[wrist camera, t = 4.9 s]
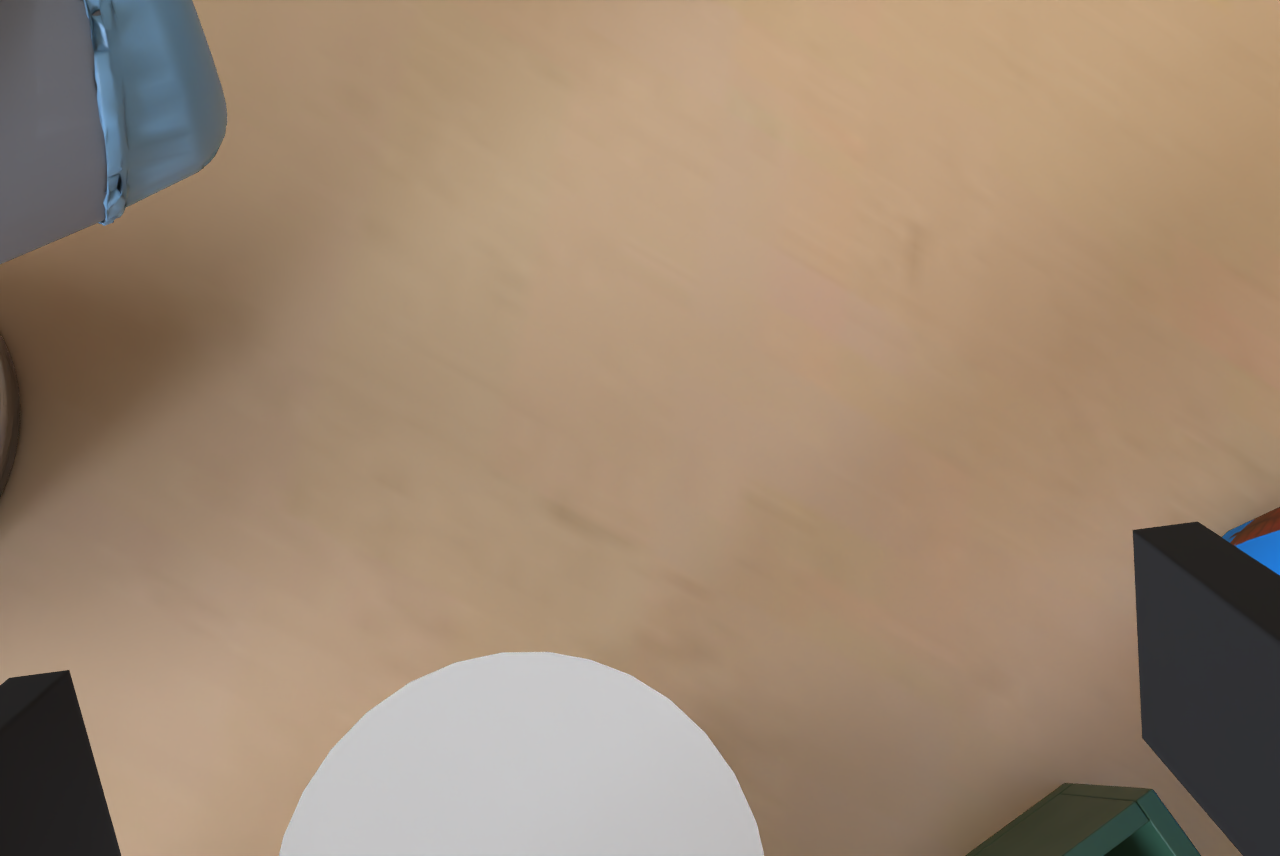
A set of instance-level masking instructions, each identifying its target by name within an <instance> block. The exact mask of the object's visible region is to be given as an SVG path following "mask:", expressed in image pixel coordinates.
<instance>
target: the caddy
mask: <svg viewBox="0 0 1280 856" xmlns="http://www.w3.org/2000/svg"><path fill="white" fill-rule="evenodd" d="M966 856H1201V855H1200V854H1199V852H1198V851H1197V849H1196V848H1195V847H1194V845H1193V844H1192V842H1191V841H1190V840H1189V838H1188V837H1187V836H1186V834H1185V833H1184V831H1183V830H1182V829H1181V827H1180V826H1179V824H1178V823H1177V822H1176V820H1175V819H1174V818H1173V816H1172V815H1171V813H1170V812H1169V811H1168V809H1167V808H1166V807H1165V805H1164V804H1163V802H1162V801H1161V800H1160V798H1159V797H1158V795H1157V794H1156V793H1155V791H1154V790H1153V789H1146V788H1132V787H1117V786H1103V785H1088V784H1073V783H1064V784H1063V785H1061V786H1060V787H1059V788H1057V789H1056V790H1055V791H1053V792H1052V793H1051V794H1049V795H1048V796H1046V797H1045V798H1044V799H1042V800H1041V801H1040V802H1038V803H1037V804H1035V805H1034V806H1033V807H1031V808H1030V809H1029V810H1027V811H1026V812H1025V813H1023V814H1022V815H1020V816H1019V817H1018V818H1016V819H1015V820H1014V821H1012V822H1011V823H1009V824H1008V825H1007V826H1005V827H1004V828H1003V829H1001V830H1000V831H999V832H997V833H996V834H994V835H993V836H992V837H990V838H989V839H988V840H986V841H985V842H984V843H982V844H981V845H979V846H978V847H977V848H975V849H974V850H973V851H971V852H970V853H968V854H967V855H966Z"/></svg>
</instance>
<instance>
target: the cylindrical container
mask: <svg viewBox="0 0 1280 856" xmlns="http://www.w3.org/2000/svg"><path fill="white" fill-rule="evenodd" d="M279 856H764V852H763V848H762V844H761V839H760V835H759V831H758V826H757V823H756V820H755V818H754V816H753V814H752V811H751V809H750V807H749V805H748V802H747V800H746V798H745V796H744V793H743V791H742V789H741V787H740V784H739V782H738V780H737V778H736V775H735V774H734V772H733V771H732V770H731V768H730V767H729V765H728V764H727V763H726V761H725V760H724V758H723V757H722V755H721V754H720V753H719V751H718V750H717V748H716V747H715V746H714V744H713V743H712V741H711V740H710V739H709V737H708V736H707V734H706V733H705V732H704V731H703V730H702V729H701V728H700V727H699V726H698V725H697V724H695V723H694V722H693V721H692V720H691V719H690V718H689V717H688V716H687V715H686V714H685V713H684V712H683V711H682V710H681V709H680V708H678V707H677V706H676V705H675V704H674V703H673V702H672V701H671V700H670V699H668V698H667V697H665V696H664V695H662V694H660V693H659V692H657V691H655V690H654V689H652V688H651V687H649V686H647V685H646V684H644V683H643V682H641V681H639V680H638V679H636V678H635V677H633V676H631V675H629V674H627V673H624V672H621V671H619V670H616V669H614V668H611V667H608V666H606V665H603V664H601V663H598V662H595V661H593V660H590V659H584V658H579V657H573V656H568V655H562V654H557V653H551V652H502V653H497V654H493V655H488V656H483V657H479V658H474V659H469V660H465V661H460V662H455V663H453V664H451V665H448V666H446V667H444V668H442V669H439V670H437V671H435V672H432V673H430V674H428V675H426V676H423V677H421V678H419V679H416V680H414V681H412V682H410V683H408V684H406V685H405V686H404V687H402V688H401V689H399V690H398V691H397V692H395V693H394V694H392V695H391V696H389V697H388V698H387V699H385V700H384V701H382V702H381V703H379V704H378V705H377V706H375V707H374V708H372V709H371V710H369V711H368V712H367V713H366V714H365V715H364V716H363V717H362V718H361V719H360V720H359V721H358V722H357V723H356V724H355V725H354V726H353V727H352V728H351V729H350V730H349V731H348V732H347V733H346V734H345V735H344V737H343V738H342V739H341V740H340V741H339V742H338V743H337V744H336V745H335V746H334V747H333V748H332V749H331V750H330V752H329V753H328V755H327V756H326V758H325V759H324V761H323V762H322V764H321V765H320V767H319V768H318V770H317V771H316V773H315V775H314V776H313V778H312V779H311V781H310V782H309V784H308V785H307V787H306V788H305V790H304V791H303V793H302V795H301V798H300V800H299V802H298V805H297V807H296V809H295V812H294V814H293V816H292V818H291V821H290V823H289V825H288V828H287V830H286V832H285V834H284V837H283V841H282V845H281V849H280V853H279Z"/></svg>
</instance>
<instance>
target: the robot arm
mask: <svg viewBox="0 0 1280 856" xmlns="http://www.w3.org/2000/svg"><path fill="white" fill-rule="evenodd" d="M226 125H227V108H226V102H225V97H224V93H223V90H222V86H221V83H220V80H219V77H218V73H217V70H216V67H215V64H214V61H213V58H212V55H211V52H210V49H209V46H208V43H207V40H206V37H205V34H204V32H203V29H202V26H201V23H200V20H199V18H198V15H197V12H196V9H195V7H194V4H193V1H192V0H0V264H2V263H4V262H7V261H9V260H12V259H14V258H16V257H19V256H21V255H23V254H26V253H28V252H30V251H33V250H35V249H37V248H40V247H42V246H44V245H47V244H49V243H51V242H54V241H56V240H58V239H61V238H63V237H66V236H68V235H70V234H73V233H75V232H77V231H80V230H82V229H84V228H87V227H89V226H91V225H94V224H96V223H99V224H102V225H104V226H105V225H108V224H110V223H113V222H114V220H115V219H116V218H119V217H120V216H121V215H122V214H123V213H124V210H125V208H126V207H128V206H130V205H132V204H134V203H136V202H138V201H140V200H142V199H144V198H146V197H148V196H150V195H152V194H154V193H156V192H158V191H161V190H163V189H165V188H167V187H169V186H171V185H173V184H175V183H177V182H179V181H181V180H183V179H185V178H187V177H189V176H191V175H193V174H195V173H197V172H199V171H200V170H201V169H203V168H204V167H205V166H206V165H207V164H208V163H209V162H210V161H211V160H212V159H213V158H214V157H215V155H216V153H217V151H218V149H219V147H220V145H221V143H222V140H223V138H224V136H225V131H226ZM19 429H20V396H19V387H18V382H17V377H16V372H15V368H14V365H13V362H12V359H11V356H10V353H9V351H8V349H7V347H6V344H5V342H4V340H3V338H2V336H1V335H0V497H1V494H2V492H3V490H4V487H5V485H6V483H7V480H8V477H9V474H10V471H11V468H12V465H13V462H14V458H15V453H16V449H17V445H18V437H19ZM1133 544H1134V566H1135V588H1136V610H1137V632H1138V654H1139V676H1140V698H1141V720H1142V738H1143V739H1144V741H1145V742H1146V743H1147V744H1148V745H1149V746H1150V748H1151V749H1152V750H1153V751H1154V752H1155V753H1156V755H1157V756H1158V757H1159V758H1160V759H1161V760H1162V762H1163V763H1164V764H1165V765H1166V766H1167V767H1168V769H1169V770H1170V771H1171V772H1172V773H1173V774H1174V776H1175V777H1176V778H1177V779H1178V780H1179V781H1180V783H1181V784H1182V785H1183V786H1184V787H1185V788H1186V790H1187V791H1188V792H1189V793H1190V794H1191V795H1192V797H1193V798H1194V799H1195V800H1196V801H1197V802H1198V804H1199V805H1200V806H1201V807H1202V808H1203V809H1204V811H1205V812H1206V813H1207V814H1208V815H1209V816H1210V818H1211V819H1212V820H1213V821H1214V822H1215V823H1216V825H1217V826H1218V827H1219V828H1220V829H1221V830H1222V832H1223V833H1224V834H1225V835H1226V836H1227V837H1228V839H1229V840H1230V841H1231V842H1232V843H1233V844H1234V846H1235V847H1236V848H1237V849H1238V850H1239V851H1240V853H1241V854H1242V855H1243V856H1280V575H1278V574H1277V573H1275V572H1274V571H1272V570H1271V569H1269V568H1268V567H1266V566H1265V565H1263V564H1261V563H1260V562H1258V561H1257V560H1255V559H1254V558H1252V557H1251V556H1249V555H1248V554H1246V553H1245V552H1243V551H1242V550H1240V549H1239V548H1237V547H1236V546H1234V545H1232V544H1231V543H1229V542H1228V541H1226V540H1225V539H1223V538H1222V537H1220V536H1219V535H1217V534H1216V533H1214V532H1213V531H1211V530H1210V529H1208V528H1206V527H1205V526H1203V525H1202V524H1200V523H1199V522H1191V523H1183V524H1176V525H1168V526H1161V527H1153V528H1145V529H1138V530H1133ZM0 856H121V853H120V849H119V846H118V842H117V839H116V835H115V832H114V828H113V824H112V821H111V817H110V814H109V810H108V807H107V803H106V800H105V796H104V792H103V789H102V785H101V782H100V778H99V775H98V771H97V767H96V764H95V760H94V757H93V753H92V750H91V746H90V743H89V739H88V735H87V732H86V728H85V725H84V721H83V718H82V714H81V710H80V707H79V703H78V700H77V696H76V693H75V689H74V686H73V682H72V678H71V675H70V671H69V670H66V671H59V672H51V673H44V674H36V675H28V676H21V677H13V678H9V679H8V680H6V681H5V682H4V683H3V684H1V685H0Z"/></svg>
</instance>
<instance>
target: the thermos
mask: <svg viewBox="0 0 1280 856" xmlns="http://www.w3.org/2000/svg"><path fill="white" fill-rule="evenodd" d="M1222 538H1223V539H1225V540H1226V541H1228V542H1229V543H1231V544H1232V545H1234V546H1236V547H1237V548H1239V549H1240V550H1242V551H1243V552H1245V553H1246V554H1248V555H1249V556H1251V557H1252V558H1254V559H1255V560H1257V561H1258V562H1260V563H1261V564H1263V565H1265V566H1266V567H1268V568H1269V569H1271V570H1272V571H1274V572H1275V573H1277V574H1278V575H1280V507H1279V508H1277V509H1274V510H1272V511H1270V512H1268V513H1266V514H1264V515H1262V516H1260V517H1257V518H1255V519H1253V520H1251V521H1249V522H1247V523H1245V524H1243V525H1240V526H1238V527H1236V528H1234V529H1232V530H1230V531H1228V532H1227V533H1226V534H1225V535H1224V536H1223V537H1222Z"/></svg>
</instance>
